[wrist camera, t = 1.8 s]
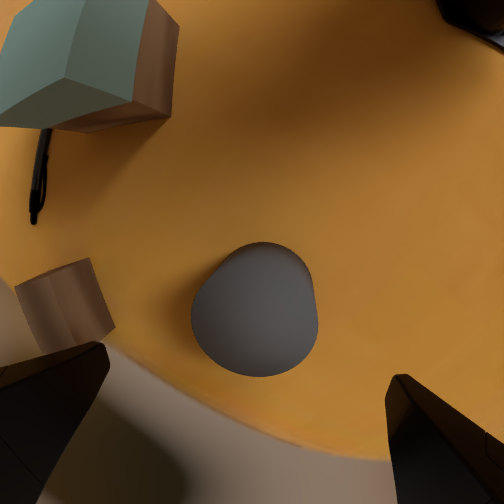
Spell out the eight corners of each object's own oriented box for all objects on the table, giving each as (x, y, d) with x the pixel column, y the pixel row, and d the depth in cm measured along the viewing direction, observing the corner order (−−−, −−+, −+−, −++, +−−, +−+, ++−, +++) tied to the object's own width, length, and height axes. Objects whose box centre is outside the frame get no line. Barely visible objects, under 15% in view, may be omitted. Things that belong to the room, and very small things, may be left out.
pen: (47, 225, 16) (39, 229, 15) (32, 220, 16) (24, 224, 15) (91, 43, 12) (85, 38, 11) (74, 43, 12) (67, 39, 11)
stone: (316, 244, 13) (324, 269, 9) (308, 333, 14) (310, 380, 11) (215, 239, 14) (186, 261, 10) (218, 327, 15) (196, 369, 11)
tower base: (180, 28, 11) (150, -6, 7) (172, 117, 13) (132, 99, 9) (100, 52, 12) (62, 33, 8) (89, 133, 14) (43, 127, 10)
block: (90, 256, 16) (48, 275, 12) (116, 326, 17) (82, 356, 13) (51, 269, 17) (14, 286, 13) (74, 329, 18) (42, 353, 14)
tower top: (150, -4, 8) (106, -46, 4) (131, 102, 9) (63, 77, 5) (61, 34, 8) (14, 16, 5) (43, 129, 10) (-16, 125, 6)
